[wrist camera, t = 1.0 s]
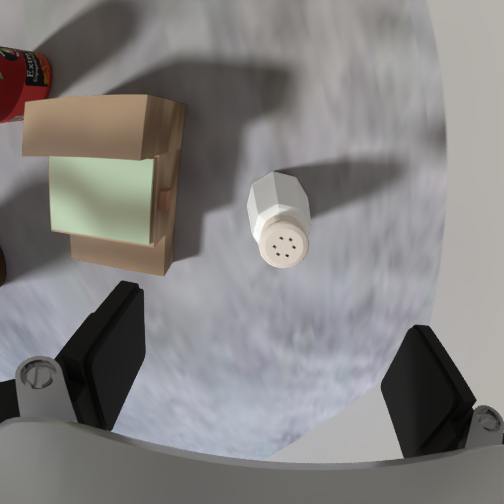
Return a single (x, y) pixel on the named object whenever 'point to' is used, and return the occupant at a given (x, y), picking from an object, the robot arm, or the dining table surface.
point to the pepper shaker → (280, 219)
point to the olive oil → (2, 269)
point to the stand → (111, 175)
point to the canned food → (21, 81)
